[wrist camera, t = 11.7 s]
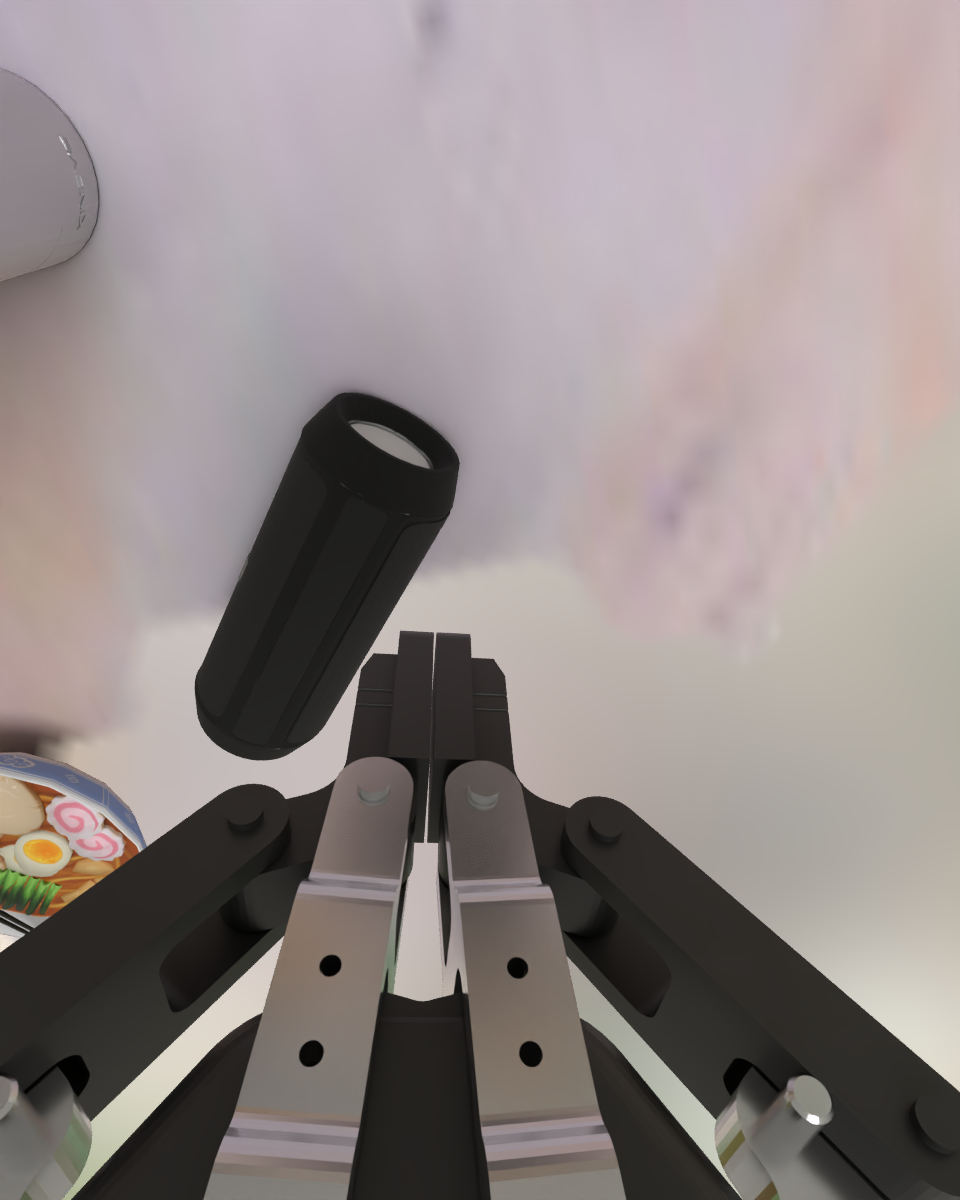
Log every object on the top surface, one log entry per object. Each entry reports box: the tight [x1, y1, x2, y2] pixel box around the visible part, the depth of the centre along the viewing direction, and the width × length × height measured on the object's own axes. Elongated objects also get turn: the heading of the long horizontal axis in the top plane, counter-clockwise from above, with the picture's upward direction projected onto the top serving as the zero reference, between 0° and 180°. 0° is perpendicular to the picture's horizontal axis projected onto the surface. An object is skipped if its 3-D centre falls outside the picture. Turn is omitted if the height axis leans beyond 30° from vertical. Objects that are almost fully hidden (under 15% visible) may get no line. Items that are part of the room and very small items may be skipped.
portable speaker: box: [195, 393, 460, 760], centre depth 47 cm, size 26×10×10 cm, turn 151°
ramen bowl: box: [0, 752, 147, 938], centre depth 61 cm, size 25×23×8 cm
